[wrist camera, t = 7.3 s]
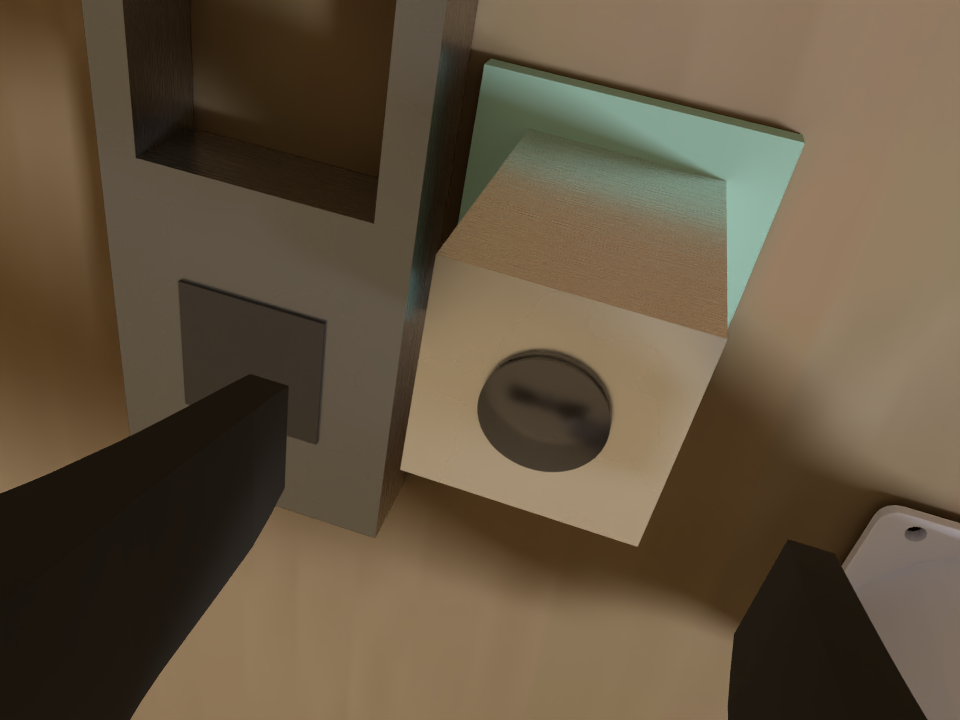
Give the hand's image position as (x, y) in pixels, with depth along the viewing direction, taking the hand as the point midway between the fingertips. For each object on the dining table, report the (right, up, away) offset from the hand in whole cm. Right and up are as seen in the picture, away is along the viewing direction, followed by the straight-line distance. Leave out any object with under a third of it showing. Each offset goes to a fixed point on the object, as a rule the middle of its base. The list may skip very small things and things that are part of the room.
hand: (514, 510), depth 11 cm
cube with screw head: (+2, +5, +7) cm, 9 cm away
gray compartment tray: (-5, +7, +9) cm, 13 cm away
